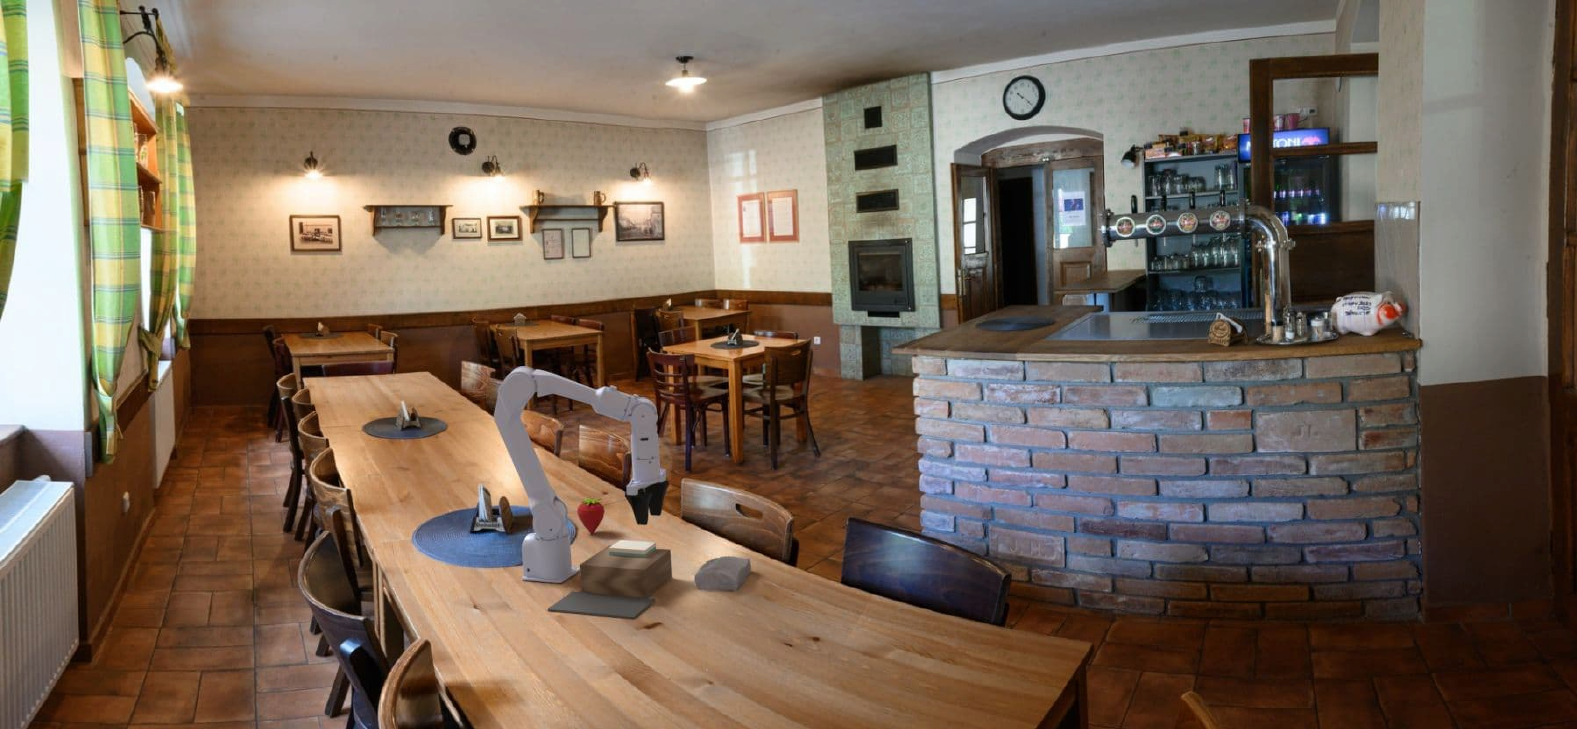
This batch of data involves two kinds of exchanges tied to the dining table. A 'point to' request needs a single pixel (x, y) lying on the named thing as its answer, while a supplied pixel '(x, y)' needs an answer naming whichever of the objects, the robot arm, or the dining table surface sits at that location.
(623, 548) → the teal and white sponge
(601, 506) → the strawberry
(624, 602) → the mat
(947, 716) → the dining table surface
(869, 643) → the dining table surface
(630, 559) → the riser
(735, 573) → the stone block
